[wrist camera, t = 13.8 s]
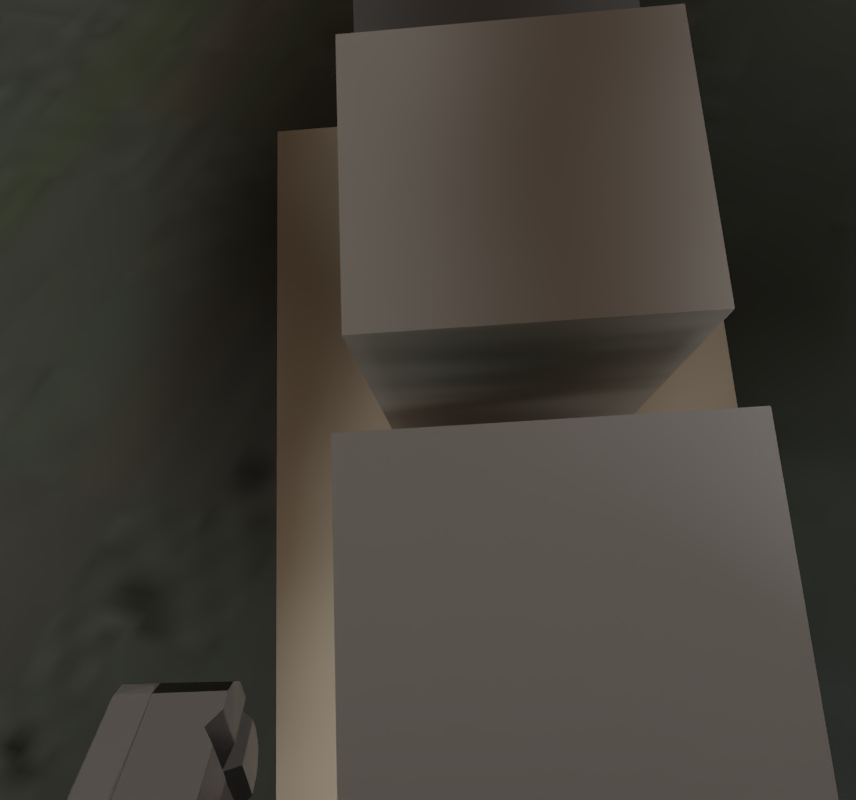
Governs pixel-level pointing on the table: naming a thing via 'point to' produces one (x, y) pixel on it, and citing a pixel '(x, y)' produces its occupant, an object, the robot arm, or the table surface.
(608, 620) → the block
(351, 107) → the rail board
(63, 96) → the table surface
